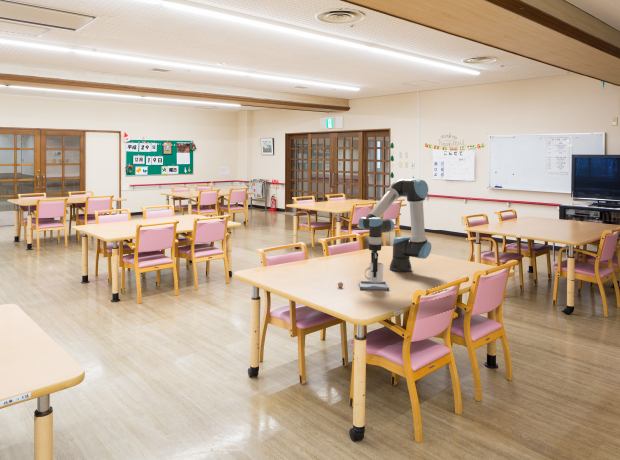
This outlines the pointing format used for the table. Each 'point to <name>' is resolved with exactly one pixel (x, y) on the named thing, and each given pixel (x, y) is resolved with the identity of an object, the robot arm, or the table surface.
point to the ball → (340, 284)
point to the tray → (373, 285)
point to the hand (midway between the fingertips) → (373, 280)
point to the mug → (379, 272)
